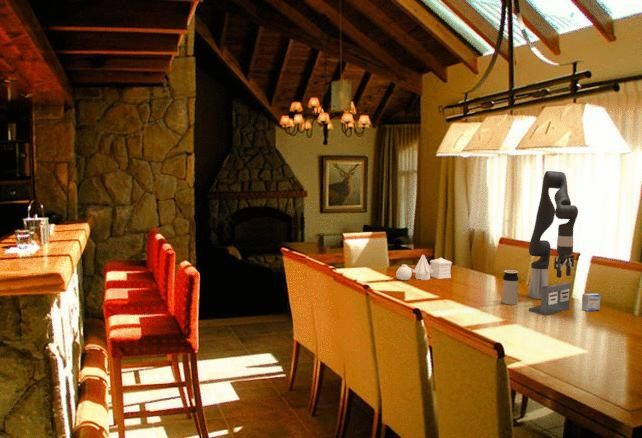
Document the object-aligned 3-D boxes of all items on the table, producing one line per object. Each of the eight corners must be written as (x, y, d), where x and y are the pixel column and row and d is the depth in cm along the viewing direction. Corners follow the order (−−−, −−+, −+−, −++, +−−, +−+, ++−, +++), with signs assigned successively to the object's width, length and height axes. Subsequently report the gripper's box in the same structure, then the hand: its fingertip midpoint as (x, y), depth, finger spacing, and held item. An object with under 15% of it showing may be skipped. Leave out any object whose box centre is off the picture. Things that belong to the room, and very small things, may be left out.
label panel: (528, 311, 310) (529, 284, 308) (552, 305, 323) (553, 280, 322) (546, 315, 301) (547, 288, 300) (570, 309, 315) (571, 283, 313)
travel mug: (518, 305, 322) (519, 272, 321) (502, 304, 324) (504, 272, 322) (516, 302, 330) (517, 270, 328) (501, 301, 332) (502, 269, 330)
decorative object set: (438, 274, 415) (439, 251, 413) (454, 278, 399) (454, 254, 397) (389, 278, 398) (389, 254, 396) (403, 283, 382) (404, 258, 381)
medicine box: (587, 311, 310) (588, 295, 309) (581, 309, 314) (582, 293, 313) (599, 310, 312) (600, 294, 311) (593, 308, 316) (594, 292, 315)
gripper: (565, 242, 305) (564, 274, 306) (550, 245, 296) (548, 277, 298) (579, 244, 299) (578, 276, 300) (564, 246, 290) (562, 279, 292)
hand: (563, 276), depth 299 cm, fingers open, 8 cm apart
